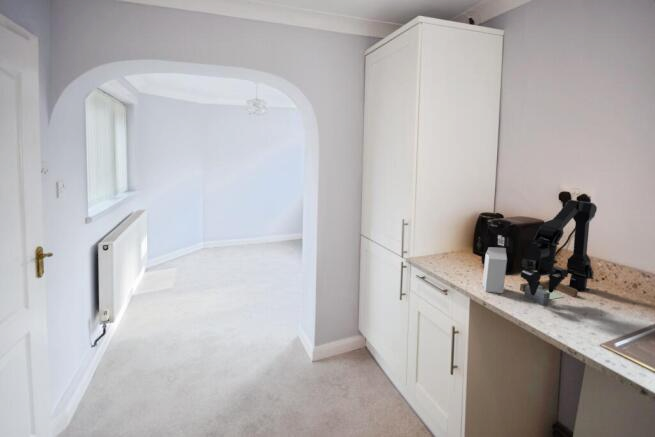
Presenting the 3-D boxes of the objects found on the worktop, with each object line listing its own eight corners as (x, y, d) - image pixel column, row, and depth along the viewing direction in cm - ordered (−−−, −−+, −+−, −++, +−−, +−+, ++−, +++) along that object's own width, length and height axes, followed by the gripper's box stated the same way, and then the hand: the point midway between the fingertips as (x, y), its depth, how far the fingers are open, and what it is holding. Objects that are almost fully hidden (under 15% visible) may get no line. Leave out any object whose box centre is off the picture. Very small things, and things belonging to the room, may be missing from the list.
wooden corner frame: (550, 285, 169) (551, 279, 168) (577, 296, 157) (578, 290, 157) (519, 290, 163) (520, 283, 163) (544, 302, 152) (545, 295, 151)
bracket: (524, 297, 156) (525, 285, 155) (535, 295, 158) (536, 284, 157) (542, 306, 148) (544, 294, 147) (554, 304, 150) (555, 292, 149)
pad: (545, 289, 165) (546, 288, 165) (564, 297, 157) (564, 296, 157) (530, 291, 162) (530, 291, 162) (548, 299, 154) (548, 299, 154)
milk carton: (503, 293, 160) (508, 250, 156) (485, 291, 161) (490, 249, 157) (499, 287, 166) (503, 246, 163) (482, 285, 168) (486, 245, 164)
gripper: (547, 249, 157) (542, 284, 160) (512, 252, 151) (507, 289, 154) (571, 256, 147) (565, 294, 150) (535, 261, 141) (529, 299, 144)
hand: (541, 293), depth 150 cm, fingers open, 9 cm apart
